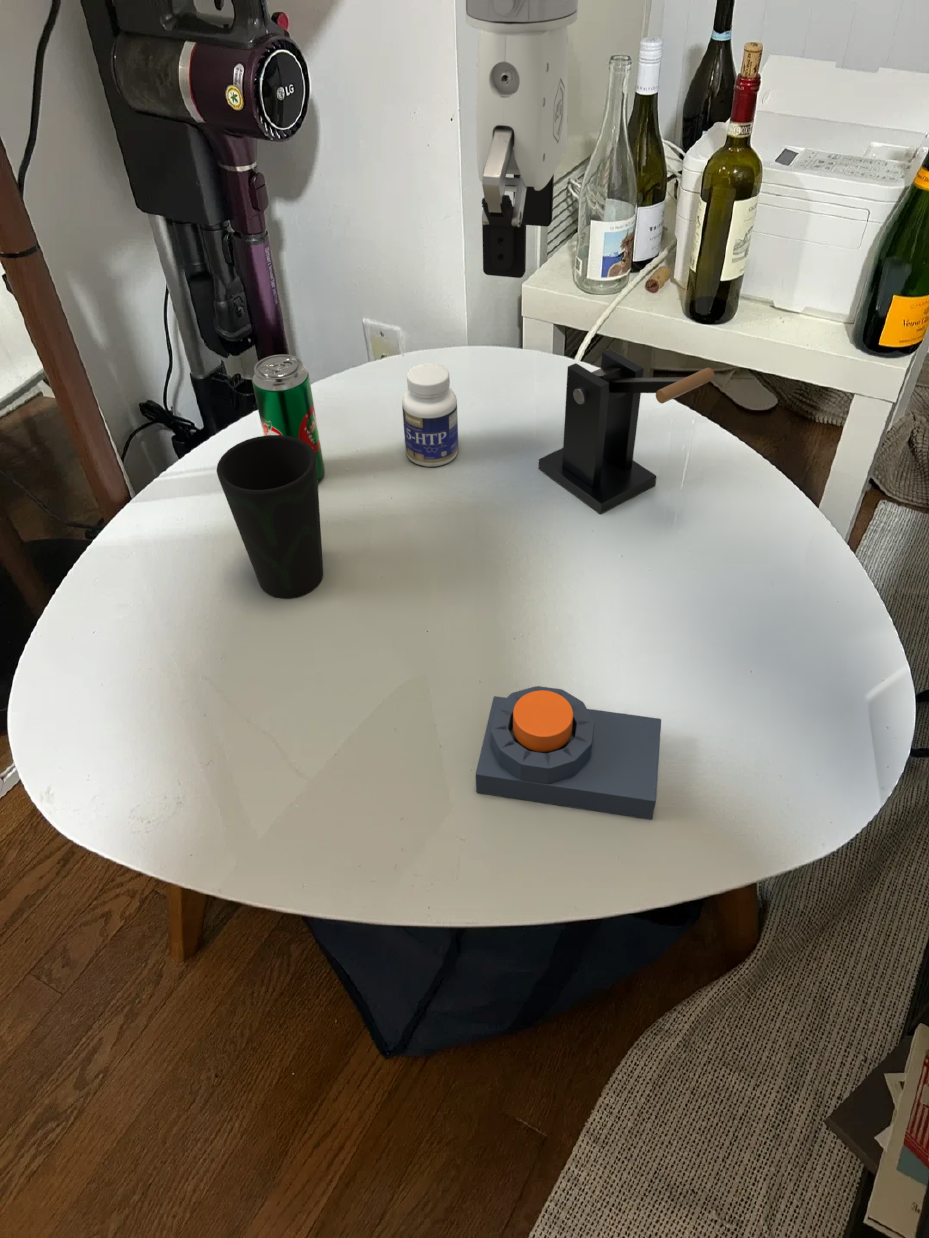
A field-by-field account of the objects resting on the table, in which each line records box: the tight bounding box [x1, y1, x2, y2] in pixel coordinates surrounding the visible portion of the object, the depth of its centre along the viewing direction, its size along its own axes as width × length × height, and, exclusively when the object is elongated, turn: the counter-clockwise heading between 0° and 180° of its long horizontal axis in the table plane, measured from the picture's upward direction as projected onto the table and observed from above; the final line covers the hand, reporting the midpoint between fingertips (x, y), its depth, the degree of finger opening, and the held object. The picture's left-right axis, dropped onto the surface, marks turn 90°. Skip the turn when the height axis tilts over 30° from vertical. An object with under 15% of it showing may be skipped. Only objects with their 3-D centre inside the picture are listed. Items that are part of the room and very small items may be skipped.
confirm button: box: [513, 690, 573, 752], centre depth 62 cm, size 4×4×2 cm
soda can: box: [251, 353, 325, 481], centre depth 86 cm, size 5×5×12 cm
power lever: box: [591, 367, 715, 404], centre depth 78 cm, size 12×6×2 cm, turn 36°
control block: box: [475, 685, 662, 820], centre depth 64 cm, size 12×7×4 cm, turn 79°
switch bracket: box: [537, 348, 658, 515], centre depth 84 cm, size 9×7×12 cm
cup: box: [215, 435, 324, 600], centre depth 76 cm, size 8×8×12 cm
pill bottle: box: [401, 362, 459, 467], centre depth 89 cm, size 5×5×9 cm
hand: (519, 248), depth 74 cm, fingers open, 9 cm apart
